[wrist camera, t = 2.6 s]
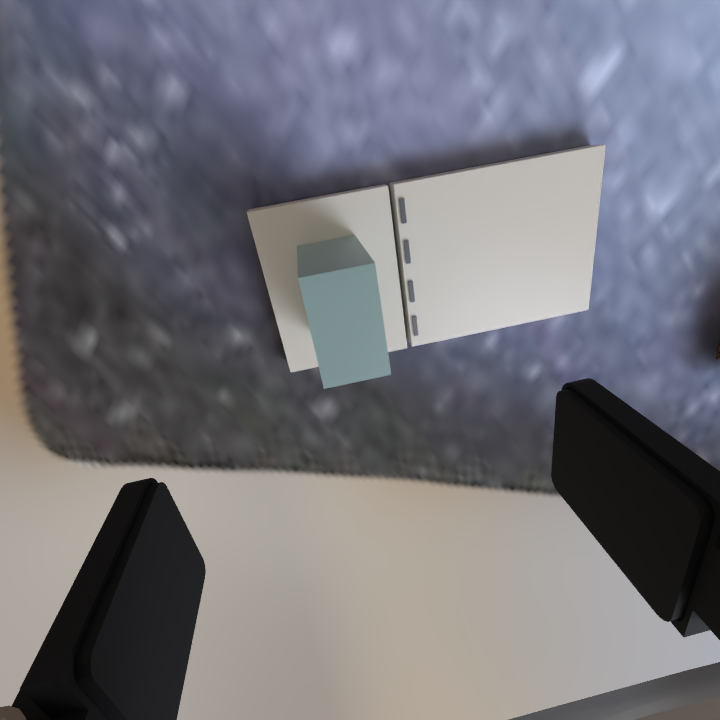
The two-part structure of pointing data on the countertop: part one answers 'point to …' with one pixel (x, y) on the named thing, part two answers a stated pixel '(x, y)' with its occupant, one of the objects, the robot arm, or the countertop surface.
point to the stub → (333, 282)
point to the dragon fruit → (718, 352)
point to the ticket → (497, 243)
